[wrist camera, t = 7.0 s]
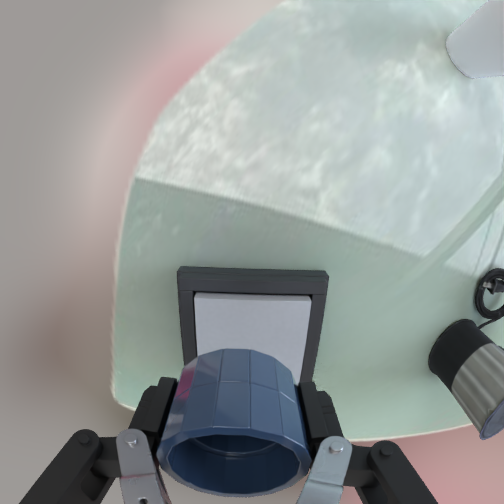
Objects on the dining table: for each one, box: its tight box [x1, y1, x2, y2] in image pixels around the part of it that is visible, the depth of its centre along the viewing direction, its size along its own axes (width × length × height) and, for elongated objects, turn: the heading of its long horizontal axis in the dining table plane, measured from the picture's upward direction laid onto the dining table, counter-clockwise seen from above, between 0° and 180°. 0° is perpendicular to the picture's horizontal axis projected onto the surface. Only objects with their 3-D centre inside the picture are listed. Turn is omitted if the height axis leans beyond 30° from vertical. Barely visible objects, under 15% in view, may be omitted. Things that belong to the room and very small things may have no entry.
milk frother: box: [429, 268, 504, 440], centre depth 22 cm, size 14×16×15 cm
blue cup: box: [156, 348, 312, 497], centre depth 10 cm, size 6×6×5 cm
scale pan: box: [194, 292, 311, 386], centre depth 26 cm, size 10×10×1 cm
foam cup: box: [446, 0, 504, 78], centre depth 14 cm, size 10×9×13 cm
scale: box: [177, 266, 329, 382], centre depth 27 cm, size 14×13×3 cm
